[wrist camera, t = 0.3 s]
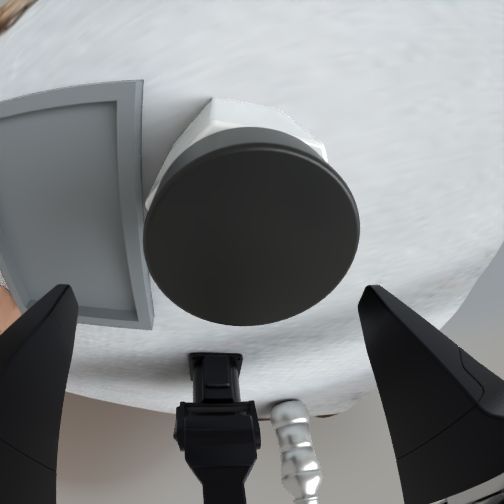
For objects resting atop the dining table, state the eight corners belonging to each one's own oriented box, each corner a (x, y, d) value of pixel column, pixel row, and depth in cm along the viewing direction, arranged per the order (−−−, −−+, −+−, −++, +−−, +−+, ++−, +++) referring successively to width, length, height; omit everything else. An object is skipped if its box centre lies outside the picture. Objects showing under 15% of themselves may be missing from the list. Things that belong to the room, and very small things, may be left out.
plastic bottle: (267, 400, 44) (285, 511, 28) (307, 393, 44) (332, 501, 28) (269, 413, 48) (285, 511, 32) (305, 406, 48) (326, 503, 32)
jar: (167, 196, 21) (134, 318, 12) (181, 90, 17) (134, 124, 7) (280, 212, 23) (324, 332, 14) (309, 114, 19) (403, 179, 9)
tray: (154, 315, 29) (152, 330, 27) (27, 302, 26) (21, 314, 24) (143, 79, 16) (136, 81, 14) (-23, 109, 13) (-37, 115, 11)
